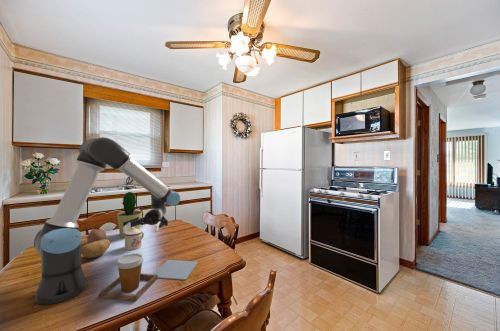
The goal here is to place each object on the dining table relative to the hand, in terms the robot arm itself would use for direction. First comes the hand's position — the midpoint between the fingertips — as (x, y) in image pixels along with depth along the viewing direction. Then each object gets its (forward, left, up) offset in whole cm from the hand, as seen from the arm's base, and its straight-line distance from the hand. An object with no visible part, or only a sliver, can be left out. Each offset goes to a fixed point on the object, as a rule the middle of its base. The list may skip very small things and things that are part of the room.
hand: (140, 229), depth 97 cm
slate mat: (+14, +6, -21) cm, 26 cm away
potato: (-34, +14, -21) cm, 42 cm away
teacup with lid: (-22, +29, -21) cm, 42 cm away
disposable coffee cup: (+2, -10, -21) cm, 23 cm away
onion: (-47, +29, -21) cm, 59 cm away
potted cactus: (-38, +47, -21) cm, 64 cm away
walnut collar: (+2, -10, -21) cm, 23 cm away
